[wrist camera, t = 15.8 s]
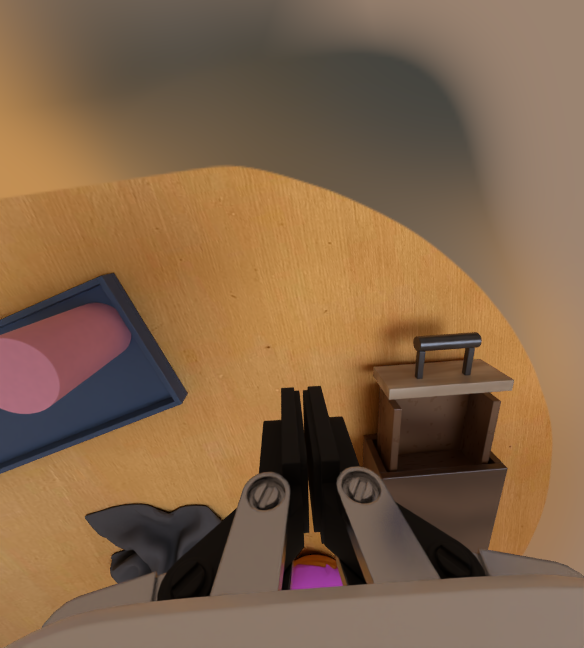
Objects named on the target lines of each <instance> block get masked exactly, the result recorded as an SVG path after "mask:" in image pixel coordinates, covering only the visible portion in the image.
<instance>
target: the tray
mask: <svg viewBox="0 0 584 648" xmlns="http://www.w3.org/2000/svg"><path fill="white" fill-rule="evenodd" d="M88 303H103V304H106V305H109V306H111V307H113V308H115V309H116V310H117V312H118V313H119V315H120V317H121V318H122V320H123V321H124V323H125V324H126V326H127V328H128V329H129V331H130V332H131V341H130V344H129V346H128V347H127V348H126V350H125V351H123V352H122V353H121V354H119V355H118V356H117V357H115V358H114V359H113V360H111V361H110V362H109V363H107V364H106V365H105V366H103V367H102V368H101V369H99V370H98V371H97V372H95V373H94V374H93V375H91V376H90V377H89V378H87V379H86V380H85V381H83V382H82V383H81V384H79V385H78V386H77V387H75V388H74V389H73V390H71V391H70V392H69V393H67V394H66V395H65V396H63V397H62V398H61V399H59V400H58V401H57V402H55V403H54V404H53V405H51V406H50V407H49V408H47V409H45V410H43V411H41V412H37V413H32V414H19V413H13V412H9V411H6V410H3V409H1V408H0V474H1V473H3V472H6V471H9V470H11V469H14V468H16V467H19V466H22V465H24V464H27V463H29V462H32V461H35V460H37V459H40V458H42V457H45V456H48V455H50V454H53V453H55V452H58V451H61V450H63V449H66V448H68V447H71V446H74V445H76V444H79V443H81V442H84V441H87V440H89V439H92V438H94V437H97V436H100V435H102V434H105V433H107V432H110V431H113V430H115V429H118V428H120V427H123V426H125V425H128V424H131V423H133V422H136V421H138V420H141V419H144V418H146V417H149V416H151V415H154V414H157V413H159V412H162V411H164V410H167V409H170V408H172V407H175V406H177V405H180V404H182V403H183V401H184V399H185V397H186V396H187V394H188V393H187V391H186V390H185V388H184V387H183V385H182V383H181V382H180V380H179V378H178V377H177V375H176V373H175V372H174V370H173V369H172V367H171V365H170V364H169V362H168V360H167V359H166V357H165V355H164V354H163V352H162V351H161V349H160V347H159V346H158V344H157V342H156V341H155V339H154V338H153V336H152V334H151V333H150V331H149V329H148V328H147V326H146V324H145V323H144V321H143V320H142V318H141V316H140V315H139V313H138V311H137V310H136V308H135V306H134V305H133V303H132V302H131V300H130V298H129V297H128V295H127V293H126V292H125V290H124V289H123V287H122V285H121V284H120V282H119V280H118V279H117V277H116V275H115V274H114V273H111V274H106V275H102V276H99V277H97V278H95V279H92V280H90V281H88V282H85V283H83V284H81V285H79V286H76V287H74V288H72V289H69V290H67V291H65V292H63V293H60V294H58V295H56V296H53V297H51V298H49V299H47V300H44V301H42V302H40V303H37V304H35V305H33V306H30V307H28V308H26V309H24V310H21V311H19V312H17V313H14V314H12V315H10V316H8V317H5V318H3V319H1V320H0V335H2V334H5V333H7V332H10V331H13V330H16V329H18V328H21V327H24V326H27V325H30V324H32V323H35V322H38V321H41V320H43V319H46V318H49V317H52V316H54V315H57V314H60V313H63V312H66V311H68V310H71V309H74V308H77V307H79V306H82V305H85V304H88Z"/></svg>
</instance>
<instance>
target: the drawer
mask: <svg viewBox="0 0 584 648" xmlns="http://www.w3.org/2000/svg"><path fill="white" fill-rule="evenodd" d="M413 343H414V348H415V350H416V351H417V355H416V364H406V365H392V366H378V367H373V377H374V378H375V380H376V381H377V383H378V384H379V386H380V391H379V411H378V431H377V452H378V455H379V457H380V459H381V461H382V463H383V466H384V468H385V470H386V472H397V471H409V470H421V469H433V468H445V467H457V466H469V465H481V464H488V461H489V456H490V451H491V446H492V442H493V437H494V432H495V427H496V423H497V418H498V413H499V409H500V404H501V401H500V400H499V399H497V398H496V397H495V396H493V395H492V394H491V393H489V392H498V391H511V390H512V388H513V383H514V380H513V379H512V378H510V377H508V376H507V375H505V374H504V373H502V372H500V371H499V370H497V369H496V368H494V367H492V366H491V365H489V364H487V363H486V362H484V361H483V360H481V359H474V360H473V356H474V350H475V348H474V347H479V346H480V345H481V336H480V335H479V334H478V333H476V332H472V333H458V334H443V335H429V336H416V337H415V338H414V342H413ZM461 348H465V354H464V360H460V361H447V362H433V363H424V360H425V351H433V350H447V349H461Z"/></svg>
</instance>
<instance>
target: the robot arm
mask: <svg viewBox="0 0 584 648" xmlns="http://www.w3.org/2000/svg"><path fill="white" fill-rule="evenodd" d="M303 411H304V428H303V419H302V411H301V402H300V394H299V391H294V387H293V388H281V420H274V421H264V423H263V433H262V445H261V456H260V467H259V474H257V475H255V476H254V477H252V478H251V479H250V480H249V481H248V482H247V483H246V484H245V486H244V488H243V491H242V494H241V497H240V500H239V503H238V507H237V508H236V509H235V510H234V511H233V512H232V513H231V514H229V515H228V516H227V517H226V518H225V519H224V520H223V521H222V522H220V523H219V524H218V525H217V526H216V527H215V528H214V529H212V530H211V531H210V532H209V533H208V534H207V535H206V536H205V537H203V538H202V539H201V540H200V541H199V542H198V543H197V544H196V545H194V546H193V547H192V548H191V549H190V550H189V551H188V552H186V553H185V554H184V555H183V556H182V557H181V558H180V559H179V560H177V561H176V562H175V563H174V564H173V566H172V567H171V568H170V569H169V570H168V571H167V572H166V573H163V574H160V575H157V572H156V571H155V572H152V573H149V574H146V575H143V576H140V577H137V578H133V579H130V580H127V581H124V582H121V583H118V584H115V585H112V586H109V587H106V588H103V589H100V590H97V591H93V592H90V593H87V594H84V595H81V596H78V597H76V598H74V599H72V600H70V601H68V602H66V603H65V604H64V605H63V606H61V607H60V608H59V609H58V610H56V611H55V612H54V613H53V614H52V615H51V616H50V618H49V619H48V620H47V621H46V622H45V623H44V625H43V626H42V628H41V629H38V630H36V631H34V632H32V633H30V634H28V635H26V636H24V637H22V638H20V639H18V640H16V641H14V642H13V643H11V644H9V645H7V646H6V647H4V648H584V576H583V575H582V574H580V573H579V572H577V571H575V570H574V569H572V568H570V567H569V566H566V565H564V564H561V563H558V562H554V561H548V560H542V559H536V558H531V557H526V556H520V555H514V554H509V553H503V552H497V551H492V550H486V549H480V548H478V552H472V551H470V550H469V549H468V548H467V547H466V546H464V545H463V544H462V543H460V542H459V541H457V540H456V539H454V538H452V537H451V536H449V535H448V534H446V533H445V532H443V531H441V530H440V529H438V528H437V527H435V526H433V525H432V524H430V523H429V522H427V521H425V520H424V519H422V518H421V517H419V516H417V515H416V514H414V513H413V512H411V511H409V510H408V509H406V508H405V507H403V506H401V505H400V504H398V503H397V502H395V501H394V499H393V497H392V496H391V494H390V492H389V491H388V489H387V487H386V485H385V484H384V482H383V481H382V479H381V478H380V477H379V476H378V475H377V474H376V473H375V472H373V471H372V470H369V469H367V468H364V467H360V466H359V463H358V460H357V457H356V454H355V451H354V448H353V445H352V442H351V439H350V436H349V434H348V431H347V428H346V425H345V422H344V419H343V417H329V416H328V412H327V408H326V404H325V400H324V397H323V393H322V389H321V386H312V387H308V390H303ZM308 482H309V491H310V500H311V509H312V517H313V526H314V532H320V534H321V542H322V544H324V545H325V546H326V547H327V548H328V549H329V550H331V551H332V552H333V553H334V554H335V559H336V564H337V568H338V571H339V574H340V577H341V581H342V584H343V586H335V587H322V588H309V589H295V590H292V584H293V572H294V559H295V558H296V556H297V555H298V554H299V553H300V551H301V550H302V549H303V548H304V533H309V501H308Z"/></svg>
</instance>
